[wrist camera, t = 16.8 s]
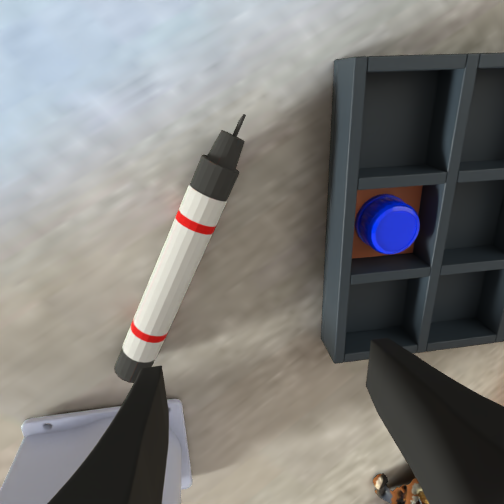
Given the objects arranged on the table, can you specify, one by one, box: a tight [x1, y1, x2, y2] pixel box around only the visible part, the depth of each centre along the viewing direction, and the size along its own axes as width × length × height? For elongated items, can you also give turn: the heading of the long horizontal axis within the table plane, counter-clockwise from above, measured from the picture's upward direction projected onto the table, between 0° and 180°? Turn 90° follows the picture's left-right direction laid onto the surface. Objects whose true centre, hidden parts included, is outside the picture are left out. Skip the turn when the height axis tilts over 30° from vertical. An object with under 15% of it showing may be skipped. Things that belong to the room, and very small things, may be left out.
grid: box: [321, 53, 504, 363], centre depth 22 cm, size 16×16×2 cm
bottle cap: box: [355, 194, 420, 254], centre depth 21 cm, size 3×3×2 cm
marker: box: [114, 114, 246, 383], centre depth 20 cm, size 15×2×2 cm, turn 155°
